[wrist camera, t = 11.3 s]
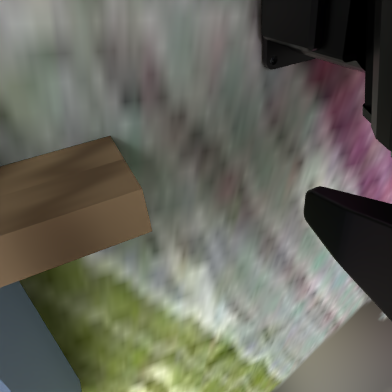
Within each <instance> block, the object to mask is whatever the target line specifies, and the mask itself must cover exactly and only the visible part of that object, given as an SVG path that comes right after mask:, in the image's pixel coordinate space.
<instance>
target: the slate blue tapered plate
mask: <svg viewBox="0 0 392 392" xmlns="http://www.w3.org/2000/svg"><path fill="white" fill-rule="evenodd" d="M0 392H82V390H81V384H80V380H79V379H78V377H77V375H76V374H75V372H74V370H73V369H72V367H71V366H70V364H69V362H68V361H67V359H66V357H65V356H64V354H63V352H62V351H61V349H60V348H59V346H58V344H57V343H56V341H55V339H54V338H53V336H52V334H51V333H50V331H49V330H48V328H47V326H46V325H45V323H44V321H43V320H42V318H41V316H40V315H39V313H38V312H37V310H36V308H35V307H34V305H33V303H32V302H31V300H30V298H29V297H28V295H27V294H26V292H25V290H24V289H23V287H22V285H21V284H20V282H19V281H17V282H14V283H12V284H9V285H6V286H3V287H1V288H0Z"/></svg>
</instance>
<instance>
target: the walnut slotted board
mask: <svg viewBox="0 0 392 392" xmlns="http://www.w3.org/2000/svg"><path fill="white" fill-rule="evenodd" d="M149 232H152V228H151V224H150V220H149V215H148V211H147V207H146V203H145V199H144V194H143V190H142V188H141V186H140V184H139V183H138V181H137V180H136V178H135V176H134V175H133V173H132V171H131V170H130V168H129V166H128V165H127V163H126V161H125V160H124V158H123V156H122V155H121V153H120V151H119V150H118V148H117V146H116V145H115V143H114V141H113V140H112V138H111V136H108V137H104V138H101V139H97V140H94V141H90V142H86V143H83V144H79V145H76V146H72V147H69V148H65V149H61V150H58V151H54V152H51V153H47V154H44V155H40V156H36V157H33V158H29V159H26V160H22V161H19V162H15V163H11V164H8V165H4V166H1V167H0V288H1V287H3V286H6V285H9V284H12V283H14V282H17V281H20V280H22V279H25V278H28V277H30V276H33V275H36V274H38V273H41V272H44V271H47V270H49V269H52V268H55V267H57V266H60V265H63V264H65V263H68V262H71V261H73V260H76V259H79V258H82V257H84V256H87V255H90V254H92V253H95V252H98V251H100V250H103V249H106V248H109V247H111V246H114V245H117V244H119V243H122V242H125V241H127V240H130V239H133V238H135V237H138V236H141V235H144V234H146V233H149Z"/></svg>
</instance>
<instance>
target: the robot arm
mask: <svg viewBox="0 0 392 392" xmlns="http://www.w3.org/2000/svg"><path fill="white" fill-rule="evenodd" d="M262 36H263V64H264V66H265V67H267V68H269V69H276V68H280V67H284V66H288V65H292V64H296V63H299V62H303V61H307V60H311V59H315V58H317V59H321V60H324V61H327V62H331V63H334V64H337V65H341V66H344V67H347V68H351V69H354V70H358V71H361V72H364V73H365V103H364V104H363V116H364V117H365V118H366V119H367V120H368V121H369V122H370V123H371V127H372V130H373V132H374V135H375V137H376V139H377V140H378V141H379V142H381V143H382V144H383V145H384V146H385V147H386V148H387V149H388V150H390V151H391V157H392V0H262ZM272 57H274V59H273V61H272V63H270V60H271V58H272ZM304 217H305V220H306V221H307V223H308V224H309V225H310V227H311V228H312V229H313V231H314V232H315V233H316V235H317V236H318V237H319V239H320V240H321V241H322V243H323V244H324V245H325V247H326V248H327V249H328V251H329V252H330V253H331V255H332V256H333V257H334V259H335V260H336V261H337V262H338V263H339V264H340V266H341V267H342V268H343V269H344V270H345V271H346V272H347V273H348V274H349V275H350V277H351V278H352V279H353V280H354V281H355V282H356V283H357V284H358V285H359V286H360V287H361V289H362V290H363V291H364V292H365V293H366V294H367V295H368V296H369V297H370V298H371V299H372V300H373V302H374V303H375V304H376V305H377V306H378V307H379V308H380V309H381V310H382V311H383V312H384V313H385V315H386V316H387V317H388V318H389V319H390V320H391V321H392V204H390V203H386V202H382V201H378V200H374V199H370V198H366V197H362V196H358V195H354V194H350V193H346V192H342V191H338V190H334V189H330V188H326V187H321V186H319V187H316V188H313V189H311V190H308V191H307V193H306V195H305V205H304Z"/></svg>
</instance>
